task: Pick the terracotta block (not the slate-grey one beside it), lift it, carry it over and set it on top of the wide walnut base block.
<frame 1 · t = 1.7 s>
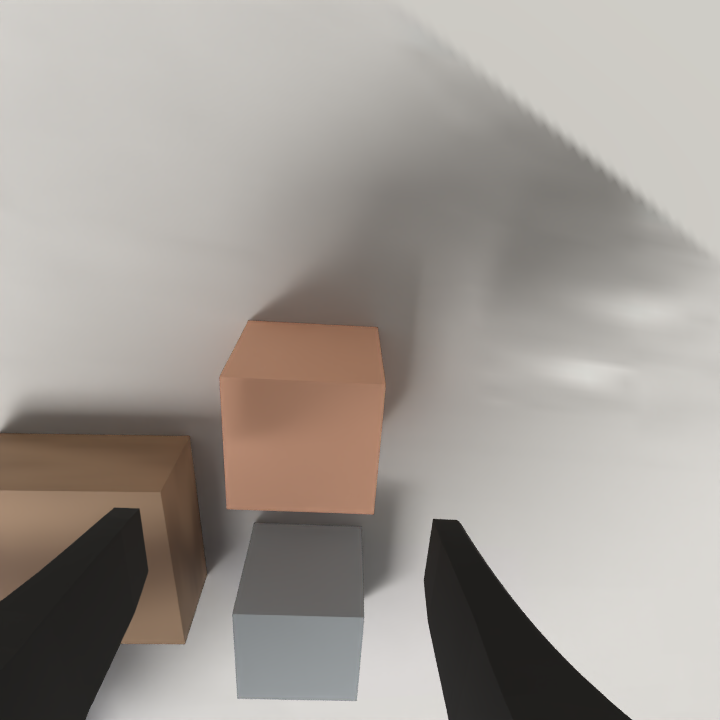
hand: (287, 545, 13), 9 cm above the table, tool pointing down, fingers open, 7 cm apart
walnut base block: (113, 505, 24), on the table
terracotta block: (311, 380, 21), on the table
slate grey block: (307, 563, 25), on the table
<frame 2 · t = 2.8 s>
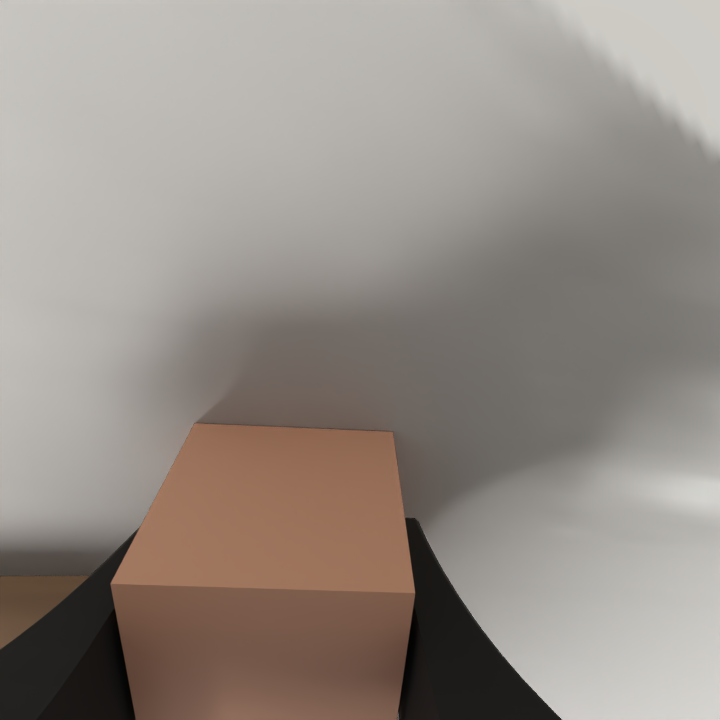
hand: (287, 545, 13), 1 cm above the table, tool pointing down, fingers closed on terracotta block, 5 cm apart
walnut base block: (16, 659, 17), on the table
terracotta block: (293, 505, 14), on the table, touching gripper
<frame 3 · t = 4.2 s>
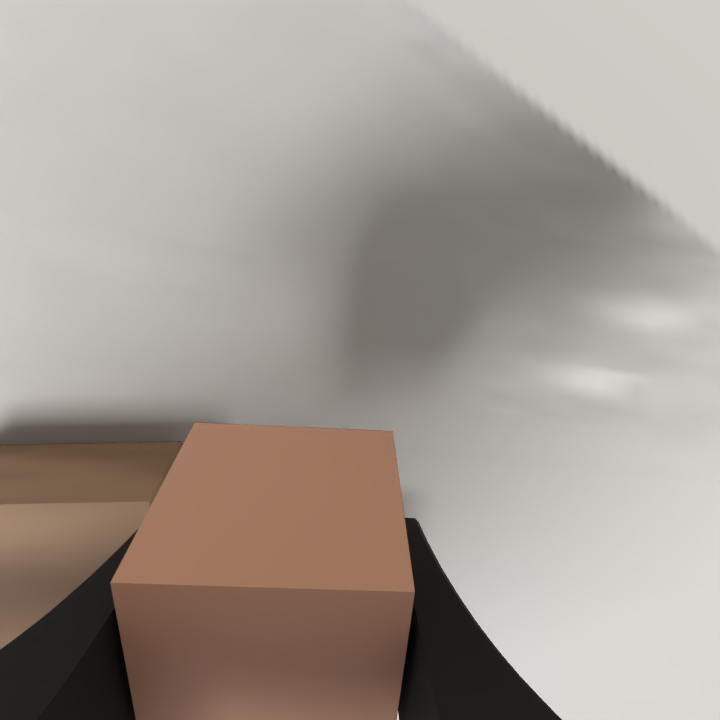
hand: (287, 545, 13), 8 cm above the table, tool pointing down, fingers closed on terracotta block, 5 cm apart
walnut base block: (107, 515, 23), on the table
terracotta block: (293, 505, 14), point 7 cm above the table, touching gripper
when the fingers open (7 cm above the table, at t = 5.9 s): terracotta block drops 2 cm, resting on walnut base block.
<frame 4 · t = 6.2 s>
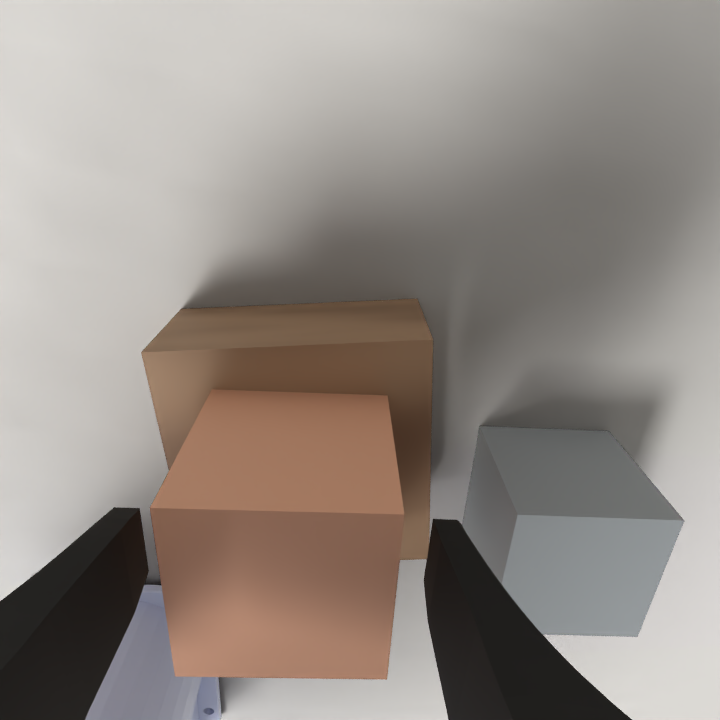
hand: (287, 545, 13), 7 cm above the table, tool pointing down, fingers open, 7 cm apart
walnut base block: (309, 402, 19), on the table, touching terracotta block
terracotta block: (300, 464, 16), point 4 cm above the table, touching walnut base block
slate grey block: (531, 480, 21), on the table
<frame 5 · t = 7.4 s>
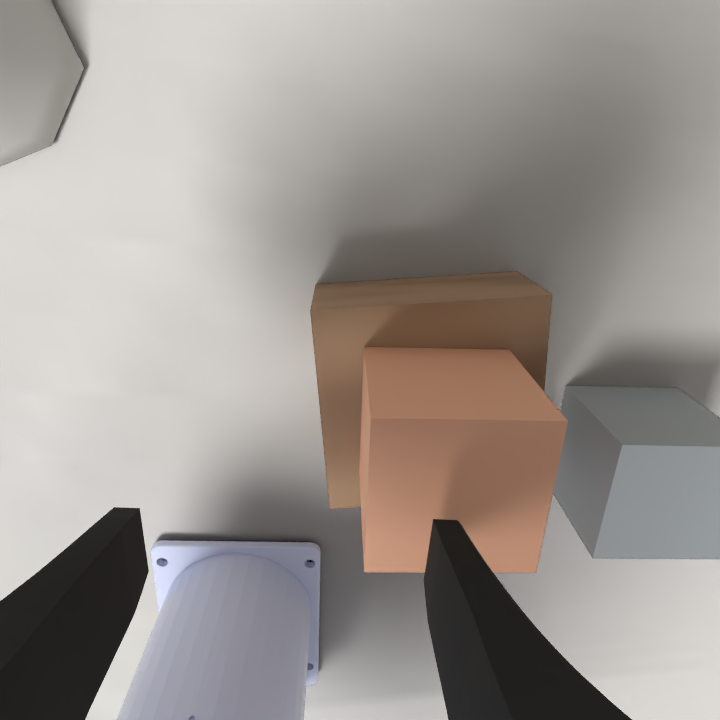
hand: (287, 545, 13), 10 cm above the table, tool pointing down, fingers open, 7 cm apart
walnut base block: (417, 367, 22), on the table, touching terracotta block
terracotta block: (430, 413, 19), point 4 cm above the table, touching walnut base block
slate grey block: (608, 435, 24), on the table
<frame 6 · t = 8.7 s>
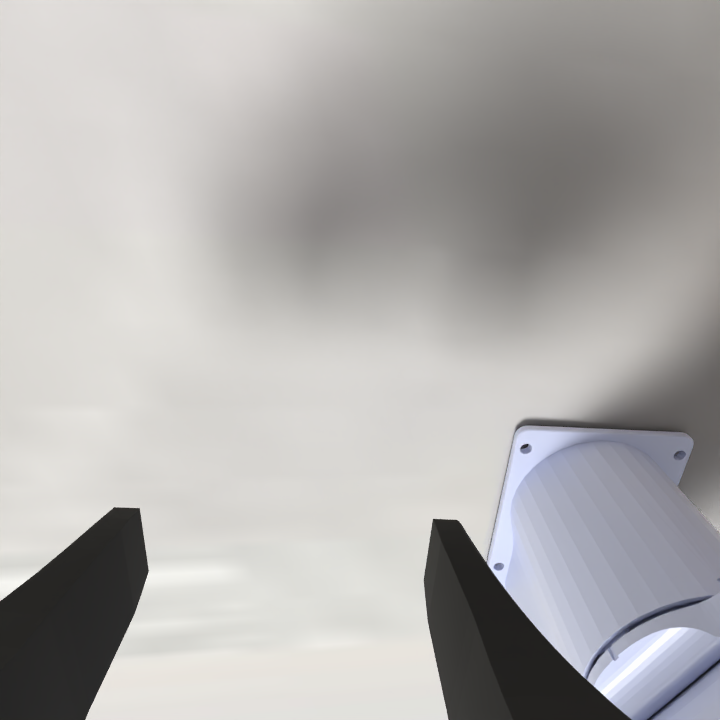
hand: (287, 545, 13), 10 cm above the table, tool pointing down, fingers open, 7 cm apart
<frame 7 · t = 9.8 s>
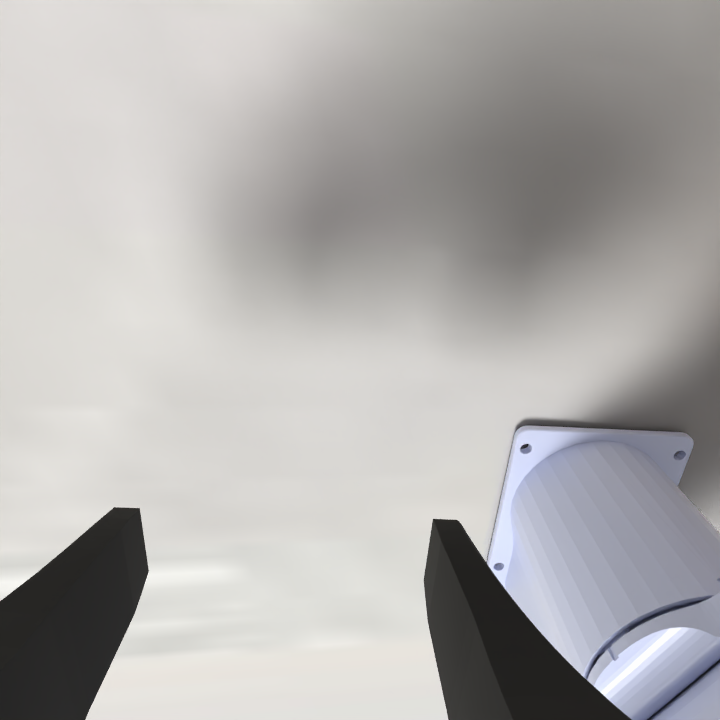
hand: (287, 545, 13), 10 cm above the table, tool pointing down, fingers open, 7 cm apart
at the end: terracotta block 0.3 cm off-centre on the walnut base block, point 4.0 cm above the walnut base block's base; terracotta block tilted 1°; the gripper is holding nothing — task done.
